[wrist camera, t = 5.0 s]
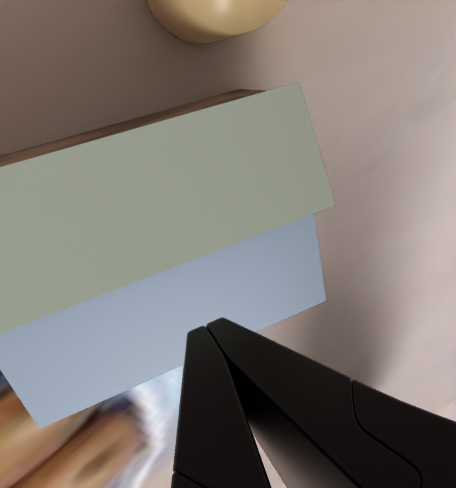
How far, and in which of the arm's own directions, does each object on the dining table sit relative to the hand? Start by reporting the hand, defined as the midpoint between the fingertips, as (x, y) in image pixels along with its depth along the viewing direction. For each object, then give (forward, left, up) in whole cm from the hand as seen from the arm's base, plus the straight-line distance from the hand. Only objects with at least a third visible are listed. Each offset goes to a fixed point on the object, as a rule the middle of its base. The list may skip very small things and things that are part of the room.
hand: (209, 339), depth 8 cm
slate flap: (0, +4, -8) cm, 9 cm away
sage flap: (0, -1, -7) cm, 7 cm away
